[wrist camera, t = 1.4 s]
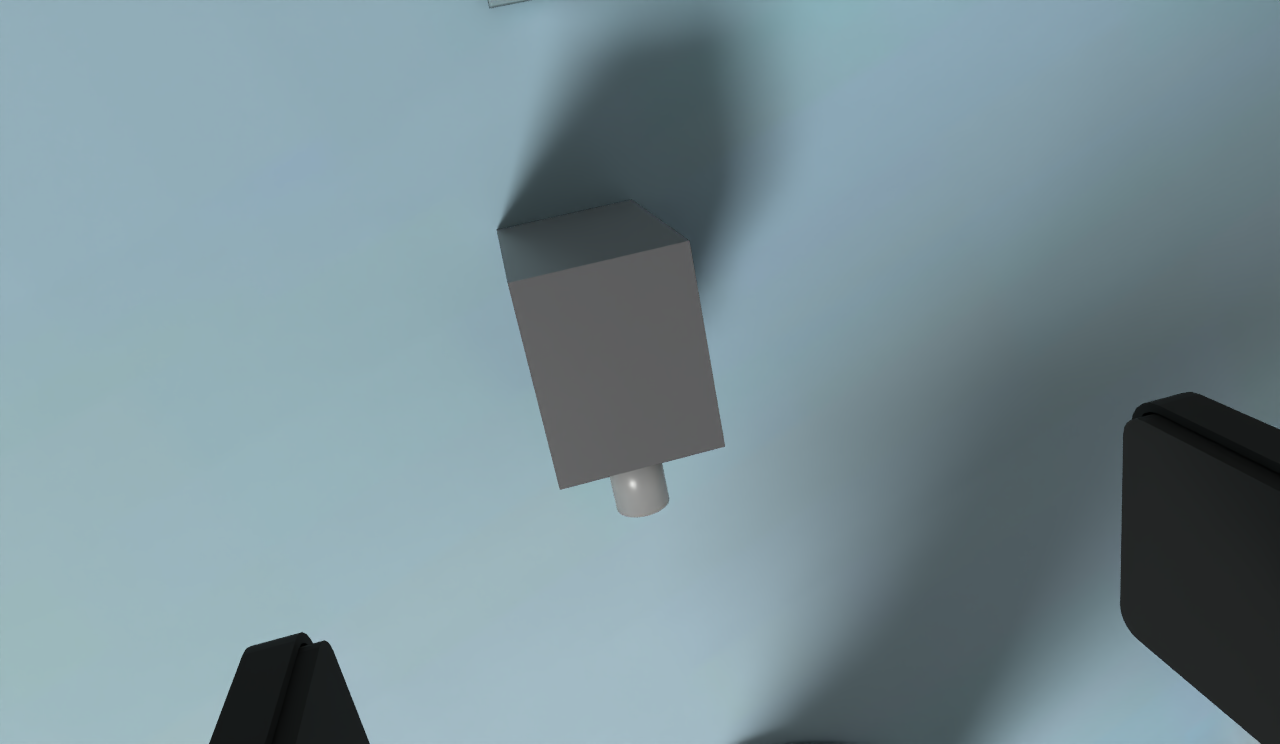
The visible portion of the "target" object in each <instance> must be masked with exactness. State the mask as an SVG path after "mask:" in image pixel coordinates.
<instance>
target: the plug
mask: <svg viewBox="0 0 1280 744" xmlns="http://www.w3.org/2000/svg"><path fill="white" fill-rule="evenodd" d="M497 234H498V238H499V243H500V248H501V253H502V258H503V263H504V268H505V272H506V277H507V282H508V286H509V290H510V294H511V298H512V302H513V306H514V310H515V314H516V318H517V322H518V326H519V330H520V334H521V338H522V342H523V346H524V350H525V353H526V357H527V361H528V365H529V369H530V373H531V377H532V381H533V385H534V389H535V393H536V397H537V401H538V405H539V409H540V413H541V417H542V421H543V425H544V429H545V433H546V437H547V441H548V445H549V448H550V452H551V456H552V460H553V464H554V468H555V472H556V476H557V480H558V484H559V488H560V490H561V489H565V488H569V487H572V486H576V485H580V484H584V483H588V482H591V481H595V480H599V479H603V478H607V477H610V480H611V484H612V489H613V493H614V498H615V502H616V506H617V510H618V512H619V513H620V514H622V515H624V516H627V517H644V516H648V515H652V514H654V513H656V512H658V511H660V510H662V509H663V508H664V507H665V506H666V505H667V504H668V502H669V495H668V490H667V485H666V480H665V475H664V470H663V465H662V463H664V462H668V461H672V460H675V459H679V458H683V457H687V456H691V455H694V454H698V453H702V452H706V451H710V450H713V449H717V448H721V447H725V443H724V438H723V432H722V426H721V420H720V414H719V409H718V403H717V397H716V391H715V385H714V380H713V374H712V368H711V362H710V357H709V351H708V345H707V339H706V333H705V328H704V322H703V316H702V310H701V304H700V299H699V293H698V287H697V281H696V276H695V270H694V264H693V258H692V252H691V247H690V241H689V240H688V239H686V238H685V237H684V236H682V235H681V234H679V233H678V232H677V231H675V230H674V229H672V228H671V227H670V226H668V225H667V224H665V223H664V222H663V221H661V220H660V219H658V218H657V217H656V216H654V215H653V214H651V213H650V212H649V211H647V210H646V209H644V208H643V207H642V206H640V205H639V204H637V203H636V202H635V201H633V200H632V199H631V200H627V201H623V202H618V203H614V204H609V205H605V206H600V207H596V208H591V209H587V210H583V211H578V212H574V213H569V214H565V215H560V216H556V217H551V218H547V219H543V220H538V221H534V222H529V223H525V224H520V225H516V226H511V227H507V228H503V229H498V230H497Z"/></svg>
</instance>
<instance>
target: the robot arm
mask: <svg viewBox="0 0 1280 744" xmlns="http://www.w3.org/2000/svg"><path fill="white" fill-rule="evenodd" d="M1120 607H1121V613H1122V616H1123V619H1124V621H1125V623H1126V625H1127V627H1128V629H1129V630H1130V631H1131V633H1132V634H1133V635H1134V636H1135V637H1136V638H1137V639H1138V640H1139V641H1140V642H1141V643H1143V644H1144V645H1145V646H1146V647H1147V648H1148V649H1150V650H1151V651H1152V652H1153V653H1154V654H1156V655H1157V656H1158V657H1159V658H1160V659H1161V660H1163V661H1164V662H1165V663H1166V664H1167V665H1169V666H1170V667H1171V668H1172V669H1173V670H1174V671H1176V672H1177V673H1178V674H1179V675H1180V676H1182V677H1183V678H1184V679H1185V680H1186V681H1188V682H1189V683H1190V684H1191V685H1192V686H1193V687H1195V688H1196V689H1197V690H1198V691H1199V692H1201V693H1202V694H1203V695H1204V696H1205V697H1206V698H1208V699H1209V700H1210V701H1211V702H1212V703H1214V704H1215V705H1216V706H1217V707H1218V708H1219V709H1221V710H1222V711H1223V712H1224V713H1225V714H1227V715H1228V716H1229V717H1230V718H1231V719H1232V720H1234V721H1235V722H1236V723H1237V724H1238V725H1240V726H1241V727H1242V728H1243V729H1244V730H1245V731H1247V732H1248V733H1249V734H1250V735H1251V736H1253V737H1254V738H1255V739H1256V740H1257V741H1258V742H1260V743H1261V744H1280V430H1279V429H1277V428H1275V427H1273V426H1270V425H1268V424H1266V423H1264V422H1261V421H1259V420H1257V419H1255V418H1252V417H1250V416H1248V415H1246V414H1243V413H1241V412H1239V411H1236V410H1234V409H1232V408H1230V407H1227V406H1225V405H1223V404H1221V403H1218V402H1216V401H1214V400H1212V399H1209V398H1207V397H1205V396H1202V395H1200V394H1197V393H1193V392H1186V393H1181V394H1177V395H1173V396H1170V397H1166V398H1162V399H1159V400H1155V401H1151V402H1148V403H1144V404H1142V405H1140V406H1139V407H1137V408H1136V410H1135V412H1134V414H1133V417H1132V420H1130V421H1129V422H1127V424H1126V426H1125V428H1124V433H1123V479H1122V535H1121V591H1120ZM209 744H370V743H369V741H368V738H367V736H366V733H365V730H364V728H363V725H362V723H361V720H360V718H359V715H358V713H357V710H356V707H355V705H354V702H353V700H352V697H351V695H350V692H349V690H348V687H347V685H346V682H345V679H344V677H343V674H342V672H341V669H340V667H339V664H338V662H337V659H336V656H335V654H334V652H333V649H332V647H331V645H330V644H329V643H328V642H327V641H321V642H317V643H312V641H311V639H310V638H309V637H308V635H307V634H305V633H303V632H301V633H298V634H294V635H290V636H287V637H283V638H279V639H276V640H272V641H268V642H264V643H261V644H257V645H253V646H250V647H248V648H247V649H246V650H245V652H244V653H243V655H242V658H241V661H240V663H239V666H238V668H237V671H236V674H235V676H234V679H233V682H232V684H231V687H230V690H229V692H228V695H227V698H226V700H225V703H224V706H223V708H222V711H221V714H220V716H219V719H218V721H217V724H216V727H215V729H214V732H213V735H212V737H211V740H210V743H209Z"/></svg>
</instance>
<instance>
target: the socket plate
mask: <svg viewBox="0 0 1280 744" xmlns="http://www.w3.org/2000/svg"><path fill="white" fill-rule="evenodd" d="M525 1H530V0H488V4H489V8H494V7H499V6H504V5H510V4H515V3H520V2H525Z"/></svg>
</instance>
